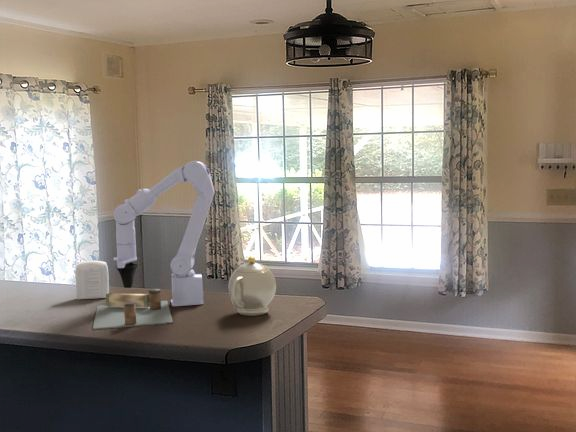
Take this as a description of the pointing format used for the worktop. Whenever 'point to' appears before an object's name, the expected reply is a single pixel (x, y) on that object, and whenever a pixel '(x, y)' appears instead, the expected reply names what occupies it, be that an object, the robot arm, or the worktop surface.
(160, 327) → the worktop surface
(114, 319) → the mat
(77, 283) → the white upright rounded block
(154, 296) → the brown grey short cylinder
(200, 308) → the worktop surface
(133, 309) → the latch post
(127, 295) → the cream long bar
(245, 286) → the teapot
